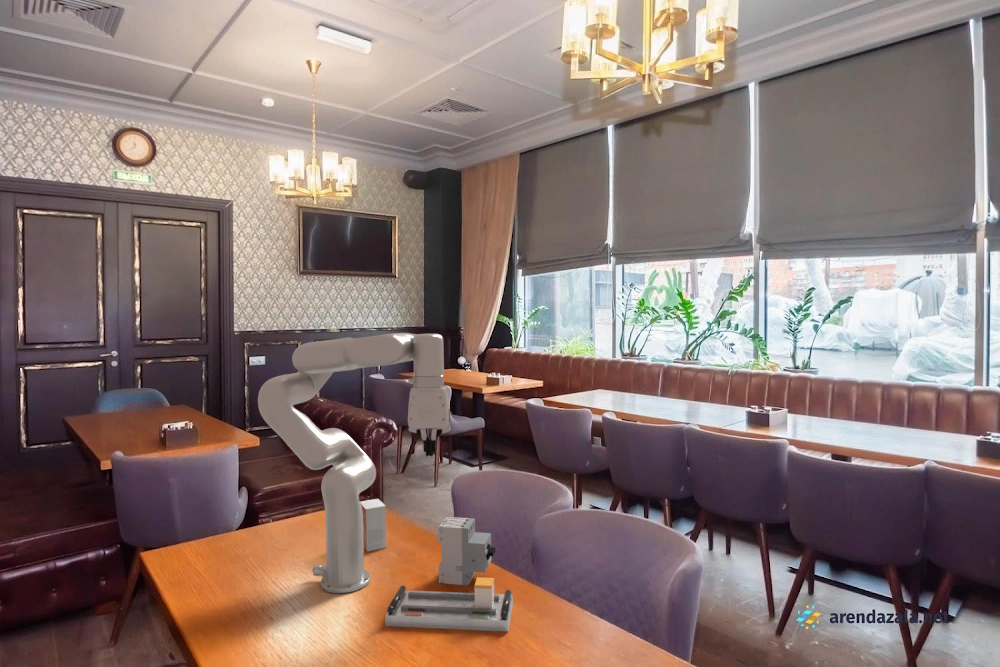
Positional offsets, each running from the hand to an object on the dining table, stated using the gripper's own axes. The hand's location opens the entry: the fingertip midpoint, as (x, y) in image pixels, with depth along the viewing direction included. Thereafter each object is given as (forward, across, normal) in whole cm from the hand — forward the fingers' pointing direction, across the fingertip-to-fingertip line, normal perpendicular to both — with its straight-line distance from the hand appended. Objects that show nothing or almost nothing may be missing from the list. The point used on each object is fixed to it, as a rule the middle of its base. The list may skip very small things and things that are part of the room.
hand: (430, 454), depth 147 cm
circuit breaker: (+35, +8, +8) cm, 37 cm away
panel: (+35, +7, -11) cm, 37 cm away
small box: (+35, -25, +28) cm, 52 cm away
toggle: (+32, +15, -11) cm, 37 cm away
